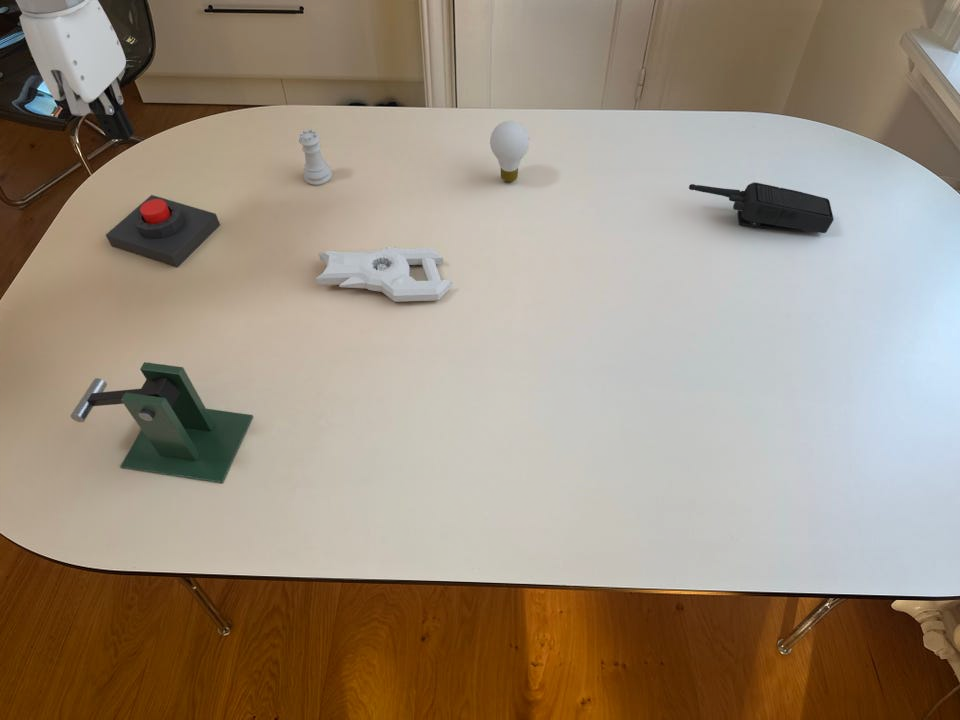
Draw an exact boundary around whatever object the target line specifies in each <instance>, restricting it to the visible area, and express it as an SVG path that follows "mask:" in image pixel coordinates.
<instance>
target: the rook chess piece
mask: <svg viewBox="0 0 960 720" xmlns="http://www.w3.org/2000/svg"><path fill="white" fill-rule="evenodd" d="M320 140H321V136H320V135H319V134H318V133H317V131H316V130H313V129H312V128H309V129H308V131H307V130H306V129H304V130H302V132H299V138H298V143H299V144H300V145H301V146H302V148H301V149H302V152H303V153H304V159H305V163H304V167H303V170H302V173H303V179H304V181H305V182H306V183H308V184H309V185H312V186H321V185H324V184H327V183H328V182H329V181H330V180H331V178H332V176H333V173H332V170H331V166H330V165H329V164H328V163H327V161H326V160H325V159H324V158H323V155H322V152H321V145H320V143H319V142H320Z"/></svg>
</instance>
